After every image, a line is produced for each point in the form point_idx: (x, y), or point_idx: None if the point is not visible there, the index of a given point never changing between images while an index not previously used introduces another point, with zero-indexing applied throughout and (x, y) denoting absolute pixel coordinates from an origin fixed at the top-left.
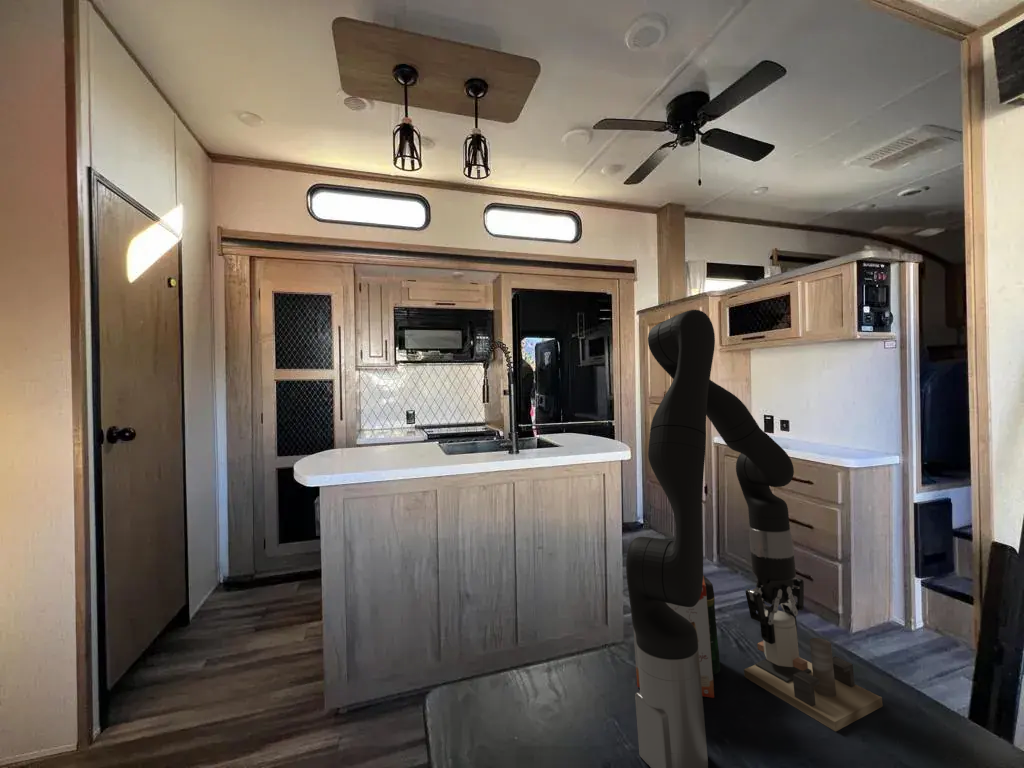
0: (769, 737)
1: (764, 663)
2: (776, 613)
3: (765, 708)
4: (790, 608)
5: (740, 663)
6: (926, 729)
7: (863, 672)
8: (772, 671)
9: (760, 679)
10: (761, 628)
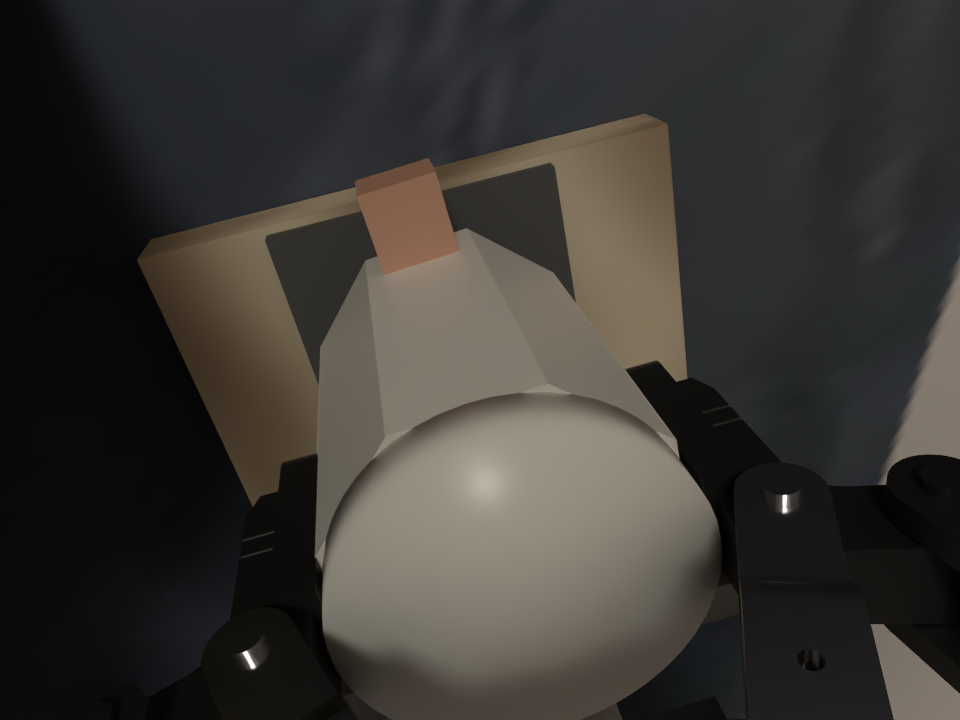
0: (11, 682)
1: (340, 257)
2: (588, 531)
3: (112, 524)
4: (743, 681)
5: (225, 52)
6: (691, 681)
7: (894, 354)
8: None
9: (197, 387)
10: (242, 584)
